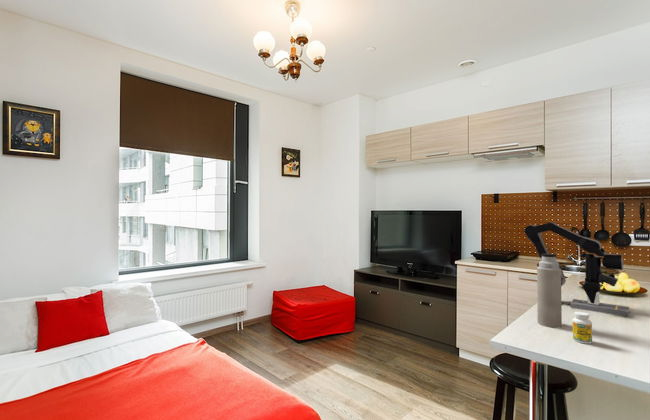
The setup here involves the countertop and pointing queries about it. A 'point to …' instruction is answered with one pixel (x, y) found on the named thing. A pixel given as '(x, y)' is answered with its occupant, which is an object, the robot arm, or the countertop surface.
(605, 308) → the console board
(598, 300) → the fader cap
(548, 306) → the thermos bottle
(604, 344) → the countertop surface
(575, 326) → the supplement bottle
